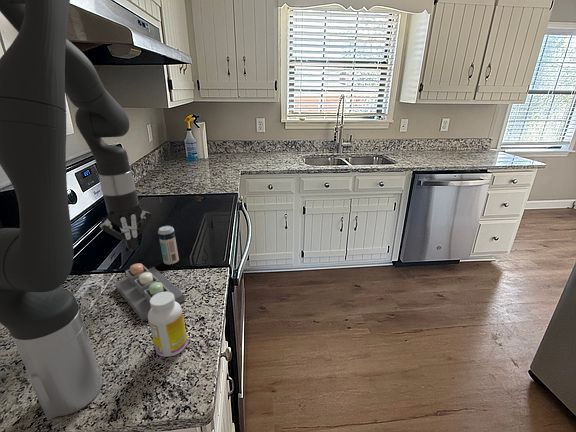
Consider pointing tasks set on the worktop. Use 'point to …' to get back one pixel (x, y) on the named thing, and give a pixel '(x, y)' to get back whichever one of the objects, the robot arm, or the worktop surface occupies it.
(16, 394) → the worktop surface
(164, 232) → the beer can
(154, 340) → the supplement bottle
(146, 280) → the cream button
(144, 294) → the grey boxy piece
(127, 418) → the worktop surface
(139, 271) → the terracotta button
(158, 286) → the sage button
